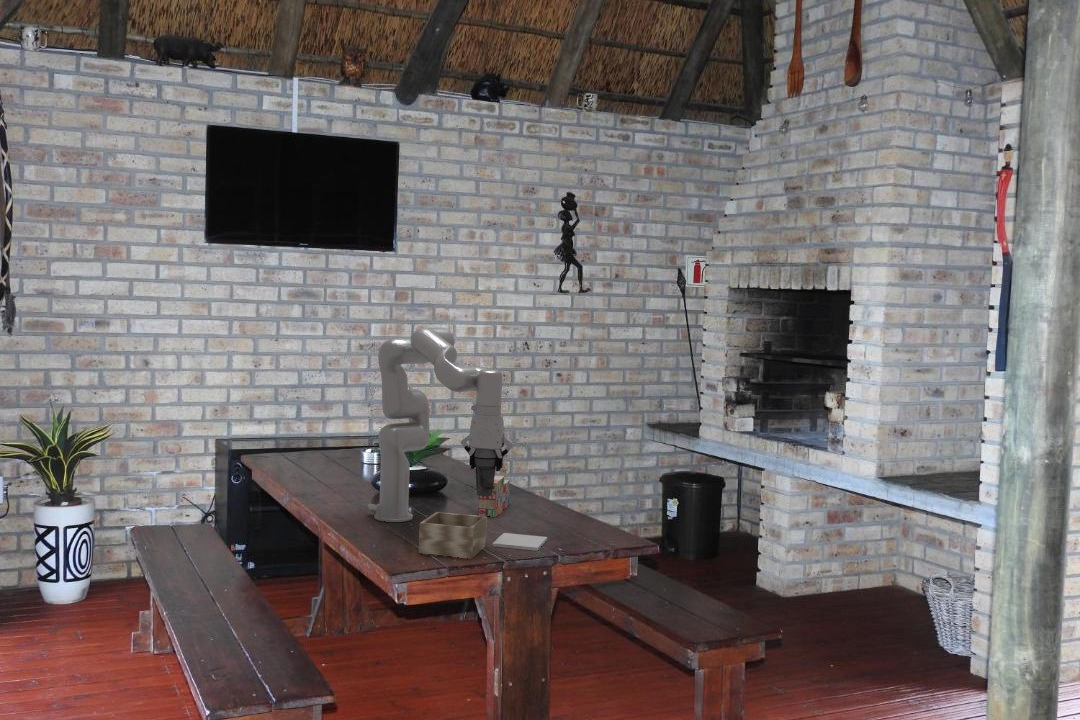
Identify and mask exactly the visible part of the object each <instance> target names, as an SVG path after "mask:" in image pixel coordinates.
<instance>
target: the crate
mask: <svg viewBox="0 0 1080 720" xmlns="http://www.w3.org/2000/svg"><path fill="white" fill-rule="evenodd" d="M418 527H419V530H418V531H419V534H418V554H419V553H422V555H428V554H437V555H444V556H443V557H447V556H452V557H451V558H457V557H459V558H458V559H467V558H468V559H469V560H472V559H473V558H474V557H475V556H476V555H477V554H479V553H480V552H481V551H482V550H483V549H484V548H485V547H487V532H488V531H487V530H488V529H487V528H488V517H486V516H478V515H475V514H474V515H472V514H463V513H453V512H440V511H436V512H434V513H433V514H431V515H429V517H427V518H425V519H424V520H422V521H421V522H419V526H418ZM437 555H436V556H437Z"/></svg>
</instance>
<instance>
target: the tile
mask: <svg viewBox="0 0 1080 720" xmlns="http://www.w3.org/2000/svg"><path fill="white" fill-rule="evenodd" d="M547 541H548V537H547V536H540V535H531V534H519V533H509V532H503V533H502V534H501V535H500V536H499V537H498V538H497V539H495V541H493V542H492V547H494V548H501V549H502V548H505V549H513V550H514V549H515V550H524V551H532V552H533V551H534V552H538V551H539V550H540V549H541V548H542V547H543V545H545V543H546V542H547ZM541 546H542V547H541Z"/></svg>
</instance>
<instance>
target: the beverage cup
mask: <svg viewBox="0 0 1080 720" xmlns="http://www.w3.org/2000/svg"><path fill="white" fill-rule="evenodd" d="M497 458H498V455H497V453H496V451H495V450H488V449H476V451H475V455H474V460H475V466H476V468H475V481H476V482H475V483H476V485H475V486H476V495H477V497H479V496H484V497H487V496H492V492H493V485H494V477H495V475H496V459H497Z"/></svg>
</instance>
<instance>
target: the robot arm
mask: <svg viewBox="0 0 1080 720" xmlns="http://www.w3.org/2000/svg"><path fill="white" fill-rule="evenodd" d="M455 344H456V342H455V337H454V334H453V332H452V331H451V330H449V329H448V328H446V327H421V328H418V329H416V330H415V331H414V332H413V333H412V334H411V335H410V337H400V338H399V337H396V338H392V339H387V340H385V341H384V342H383V343H382V344H381V346H380V348H379V350H378V355H377V357H378V359H377V361H378V366H379V371H380V376H381V402H382V403H381V405H382V413H383V415H384V417H385V418H387V419H390V420H401V419H402V420H403V419H405V420H406V419H408V422H397V423H390V424H386V425H384V426H383V427H382V428H381V429H380V430H379V432H378V445H379V446H378V447H379V453H380V470H379V471H380V478H379V479H380V481H379V503H377V504H374V503H368V505H367V509H368V511H371V512H373V511H375V514H374V515H373V516H374V519H375V520H377V521H380V522H384V521H385V522H387V523H402V522H403V523H404V522H408V521H411V520H413V517H414V516H413V515H414V514H412V513H411V512H409V497H410V496H409V495H410V468H411V467H410V462H409V460H408V458H407V456H406V454H405V453H406V452H414V451H421V450H424V449H425V448H426V447H427V446H428V444H429V442H430V404H429V400H428V398H427V395H426V393H424V392H423V391H422V390H420V389H415V388H414V389H409V383H408V381H409V379H408V374H407V373H406V371H405V369H404V367H403V366H402V365H411V364H413V365H415V364H417V365H418V364H427V363H430V364H431V365H433V371H434V374H435V377H436V379H437V381H439V382H440V384H442V385H443V386H445V387H446V388H447V389H449V390H450V391H452V392H455V393H464V392H465V393H466V392H476V394H475V395H476V397H475V399H476V400H475V405H471V408H470V409H471V411H474V414H472V417H471V421H470V427H469V433H468V434H469V435H468V436H466V437H464V438H462V440H460V444H461V446H462V447H463V449H464V450H465V451H466V452H467V454H468V456H469V467H470V469H471V470H474V469H476V466H475V460H474V455H475V451H476V449H488V450H495V451H496V453H497V455H498V458H497V459H496V469H495V472H500V471H501V469H503V466H504V464H503V462H504V457H506V455H507V454H508V453H509V452H510V451H511V450H512V449H513V447H514V444H513V443H512V442H511V441H510V440H508V438H506V437H505V424H504V423H505V422H504V416H503V415H502V393H503V391H502V390H503V389H502V388H503V373H502V371H501V370H499V369H491V368H487V367H484V366H477V365H476V366H456V365H454V364H455V362H456V360H457V357H458V351H457V349H456V347H455ZM504 446H506V448H505V449H503V448H504Z"/></svg>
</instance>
